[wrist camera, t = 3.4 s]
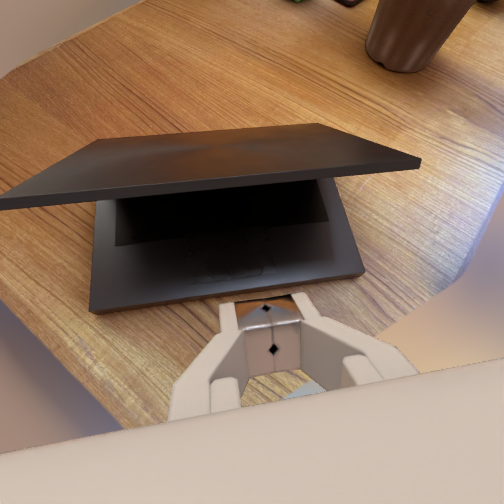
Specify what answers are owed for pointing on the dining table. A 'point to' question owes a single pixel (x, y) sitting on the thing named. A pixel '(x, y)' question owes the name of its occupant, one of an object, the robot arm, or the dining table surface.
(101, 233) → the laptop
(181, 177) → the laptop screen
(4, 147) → the dining table surface
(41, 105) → the dining table surface
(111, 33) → the dining table surface
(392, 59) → the plant pot
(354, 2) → the smartphone
